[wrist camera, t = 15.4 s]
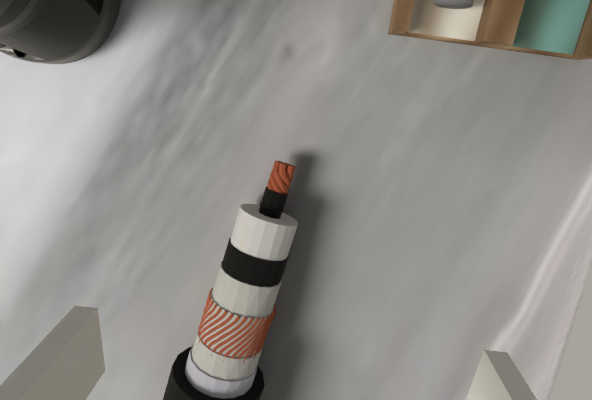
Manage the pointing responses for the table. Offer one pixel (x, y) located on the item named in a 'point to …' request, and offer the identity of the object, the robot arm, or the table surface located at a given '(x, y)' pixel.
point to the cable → (240, 303)
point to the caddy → (502, 25)
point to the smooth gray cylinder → (454, 4)
